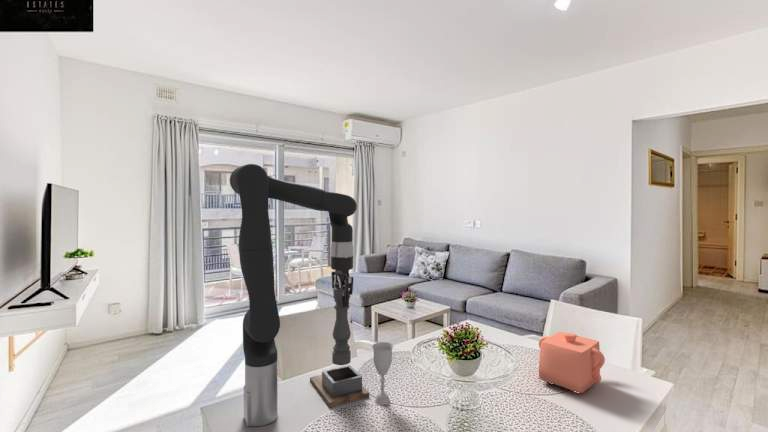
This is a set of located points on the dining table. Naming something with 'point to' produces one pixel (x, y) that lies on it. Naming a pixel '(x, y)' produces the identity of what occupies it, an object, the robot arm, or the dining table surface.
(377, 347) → the chalice
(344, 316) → the candle holder
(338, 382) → the collar
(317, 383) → the keeper plate
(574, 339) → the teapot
